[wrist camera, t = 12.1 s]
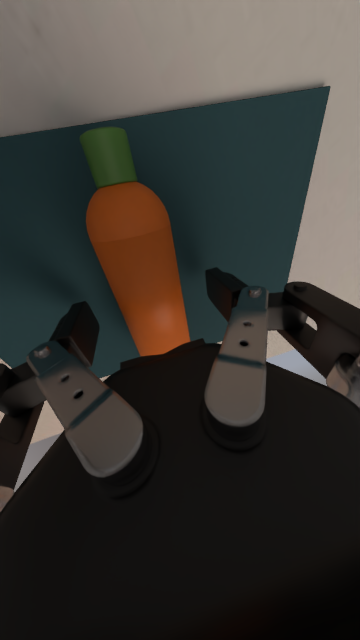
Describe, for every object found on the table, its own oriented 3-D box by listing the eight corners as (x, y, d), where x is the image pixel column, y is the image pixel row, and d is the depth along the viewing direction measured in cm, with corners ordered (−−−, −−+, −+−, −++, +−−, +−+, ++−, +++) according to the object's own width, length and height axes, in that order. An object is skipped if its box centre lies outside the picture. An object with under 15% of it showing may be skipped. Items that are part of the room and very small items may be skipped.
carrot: (62, 153, 8) (26, 124, 5) (146, 140, 9) (162, 105, 5) (152, 372, 18) (159, 409, 15) (189, 360, 19) (203, 393, 15)
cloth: (-206, 172, 7) (-218, 171, 7) (326, 88, 9) (331, 85, 9) (44, 392, 16) (43, 395, 16) (276, 322, 19) (278, 324, 19)
